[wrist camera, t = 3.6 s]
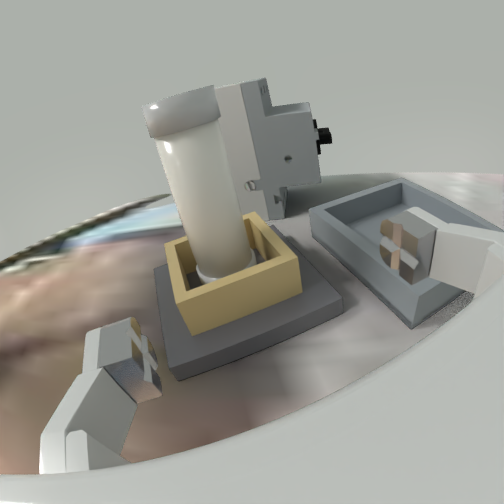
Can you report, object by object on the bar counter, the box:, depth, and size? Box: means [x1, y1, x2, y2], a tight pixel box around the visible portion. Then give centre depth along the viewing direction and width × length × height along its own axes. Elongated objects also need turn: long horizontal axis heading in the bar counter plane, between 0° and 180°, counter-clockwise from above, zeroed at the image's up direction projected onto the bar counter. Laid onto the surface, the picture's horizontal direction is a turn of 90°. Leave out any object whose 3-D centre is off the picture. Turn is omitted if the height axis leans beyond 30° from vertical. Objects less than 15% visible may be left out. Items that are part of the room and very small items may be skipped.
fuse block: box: [154, 211, 343, 381], centre depth 23 cm, size 12×12×4 cm
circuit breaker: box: [214, 78, 332, 221], centre depth 32 cm, size 8×14×15 cm, turn 81°
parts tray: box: [309, 178, 504, 329], centre depth 23 cm, size 12×14×3 cm
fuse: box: [142, 85, 257, 285], centre depth 19 cm, size 4×4×14 cm
